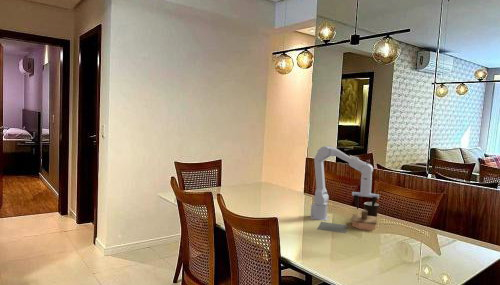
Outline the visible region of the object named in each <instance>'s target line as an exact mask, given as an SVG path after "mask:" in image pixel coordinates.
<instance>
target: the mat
mask: <svg viewBox="0 0 500 285" xmlns="http://www.w3.org/2000/svg"><path fill="white" fill-rule="evenodd" d="M348 226H349V225H348V224H341V223H334V222H327V221H320V223H319V225H318V227H317V228H316V230H320V231H325V232H333V233H341V234H347V230H348Z"/></svg>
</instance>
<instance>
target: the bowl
mask: <svg viewBox="0 0 500 285" xmlns="http://www.w3.org/2000/svg"><path fill="white" fill-rule="evenodd" d="M352 227H354V228H357V229H360V230H367V231H371V230H376V225H374V224H366V223H358V222H352Z"/></svg>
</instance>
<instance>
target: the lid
mask: <svg viewBox="0 0 500 285" xmlns="http://www.w3.org/2000/svg"><path fill="white" fill-rule="evenodd" d="M367 212H368V211H364V209H363V210H361V214H358V213H353V214H352V216H351V217H352V218H351V222H358V223H366V224H374V225H375V226H376V225H377V221H378V220H377V218H378V216H377V217H375V216H367Z"/></svg>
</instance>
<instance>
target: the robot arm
mask: <svg viewBox="0 0 500 285" xmlns="http://www.w3.org/2000/svg"><path fill="white" fill-rule="evenodd" d="M330 157H337V158H339V159H341V160H343V161H345V162H347V163H348V165H349V167H350V168H353V169H355V170H356V171H358V172H360V174H361V176H360V190H359V191H352V192H351V196H353V199H354V201H355V204H356V205H355V206H356V210H359V198H360V197H361V198H364V197H365V198H370V199H371V198H372V200H371V202H372V208H371V211H373V207H374V205H375V203H377V201H378V199H380V194H377V193H373V192H372V184H373V181H372V180H373V178H372V177H373V172H374V167H373V165H372V164H370V163H367V162H366V161H363V160H361V159H360V158H359V157H358V156H353V157H351V156H349V155H348V154H346V153H345V152H343V151H341V150H340V149H338V148H336V147H334V146H333V145H326V146H325V145H323V146H321V147H320V148H319V149H317V153H316V154H315V156H314V159H313V160H314V172H315V188H316V189H315V192H314V197H313V201H314V203H311V207H310V219H311V220H319V221H323V222H327V220H328V218H329V216H328V201H329V199H330V196H329V194H328V190H327V188H326V179H325V178H326V177H325V167H324V166H325V165H324V162H325V160H327V159H328V158H330Z"/></svg>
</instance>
